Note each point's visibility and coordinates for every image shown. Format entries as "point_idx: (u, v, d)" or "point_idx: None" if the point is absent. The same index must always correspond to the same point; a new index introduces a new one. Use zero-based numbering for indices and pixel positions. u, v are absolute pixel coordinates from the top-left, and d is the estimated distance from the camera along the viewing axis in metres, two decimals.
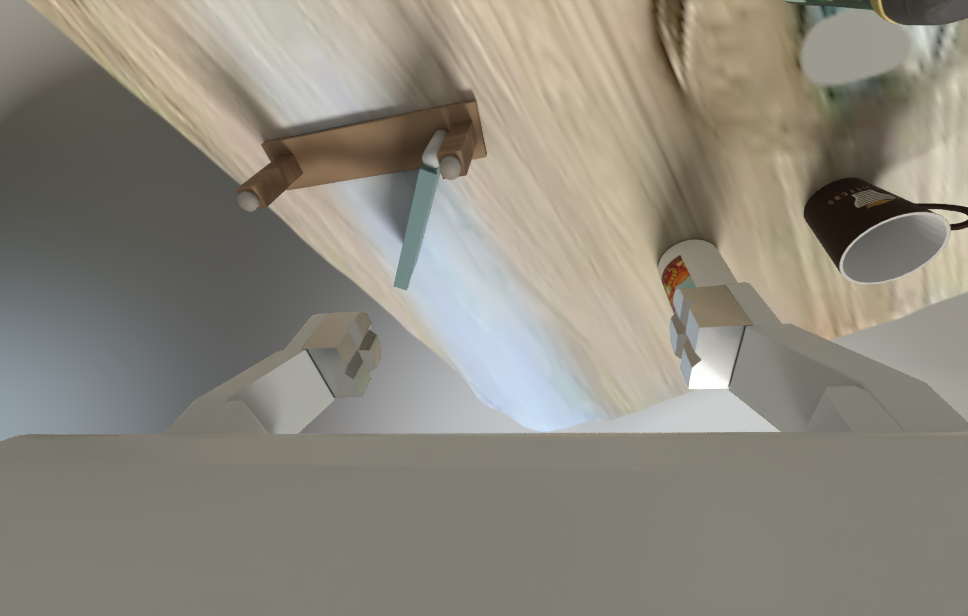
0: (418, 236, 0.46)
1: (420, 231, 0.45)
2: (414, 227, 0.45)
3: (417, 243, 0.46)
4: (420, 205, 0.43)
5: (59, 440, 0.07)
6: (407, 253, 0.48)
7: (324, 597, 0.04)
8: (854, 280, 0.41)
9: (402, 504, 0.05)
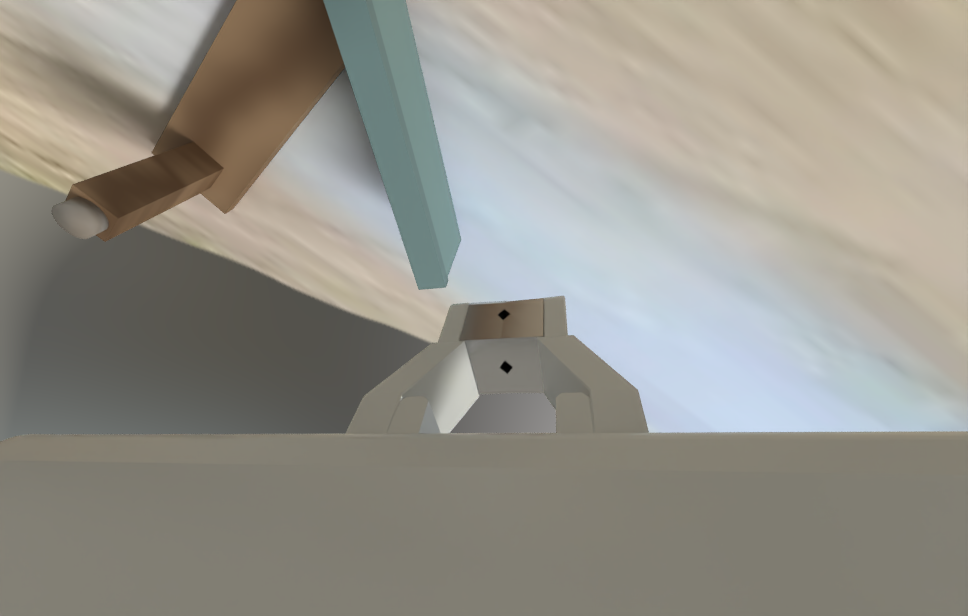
0: (399, 138, 0.19)
1: (396, 121, 0.19)
2: (379, 118, 0.19)
3: (407, 159, 0.20)
4: (358, 44, 0.17)
5: (59, 440, 0.07)
6: (402, 198, 0.21)
7: (323, 597, 0.04)
8: None
9: (402, 504, 0.05)
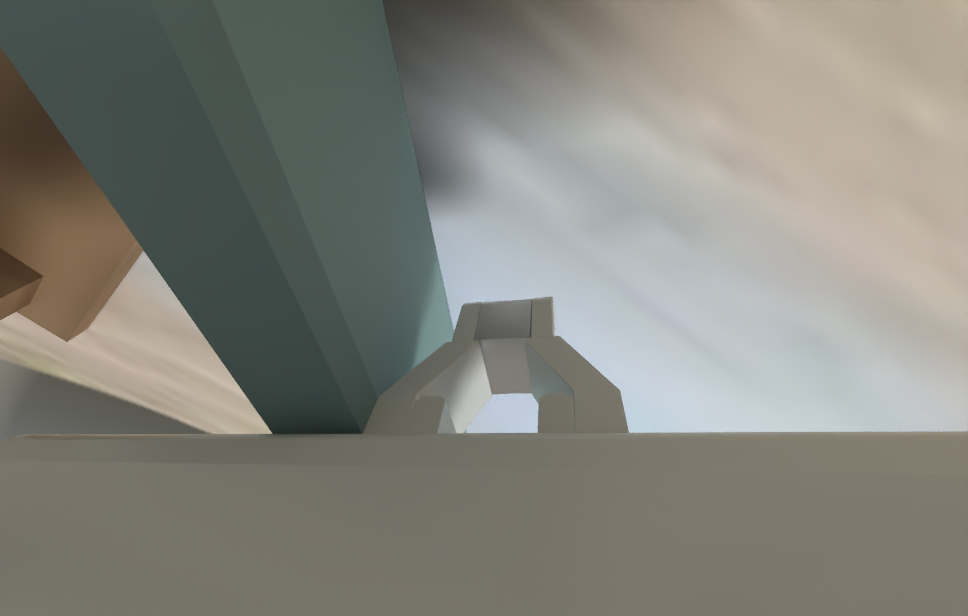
0: (316, 369, 0.06)
1: (302, 330, 0.05)
2: (244, 317, 0.05)
3: (343, 413, 0.06)
4: (101, 65, 0.04)
5: (59, 440, 0.07)
6: None
7: (324, 597, 0.04)
8: None
9: (402, 504, 0.05)
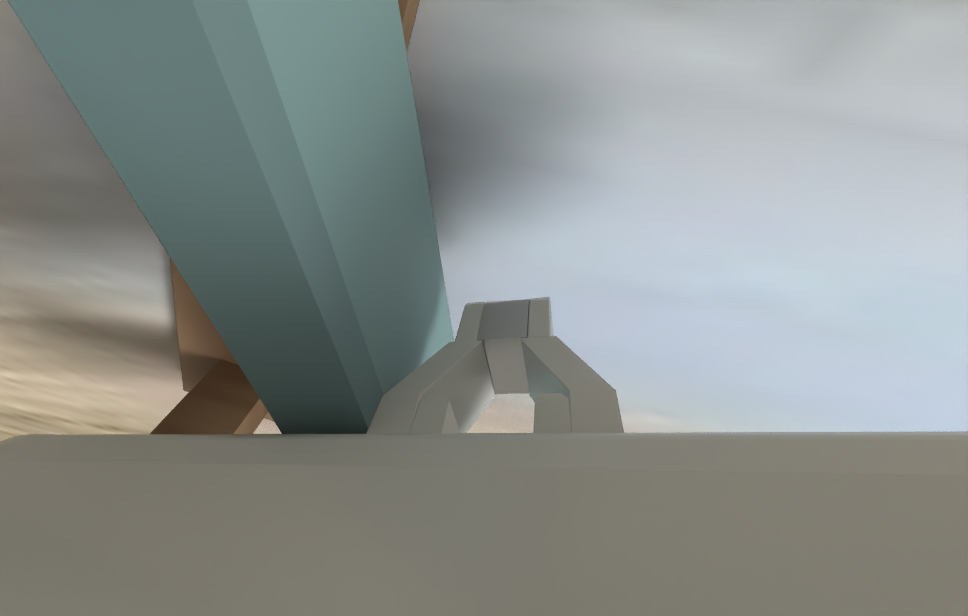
0: (328, 367, 0.06)
1: (317, 329, 0.06)
2: (260, 314, 0.05)
3: (352, 410, 0.07)
4: (135, 61, 0.04)
5: (59, 440, 0.07)
6: None
7: (325, 597, 0.04)
8: None
9: (402, 504, 0.05)
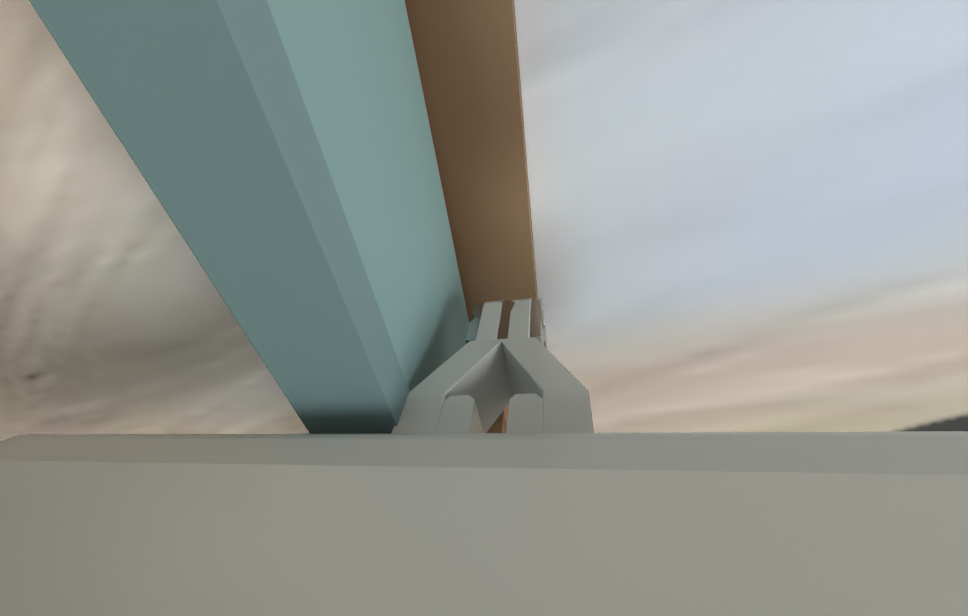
0: (356, 364, 0.06)
1: (344, 325, 0.05)
2: (287, 313, 0.05)
3: (380, 407, 0.06)
4: (158, 60, 0.04)
5: (59, 440, 0.07)
6: None
7: (324, 597, 0.04)
8: None
9: (402, 504, 0.05)
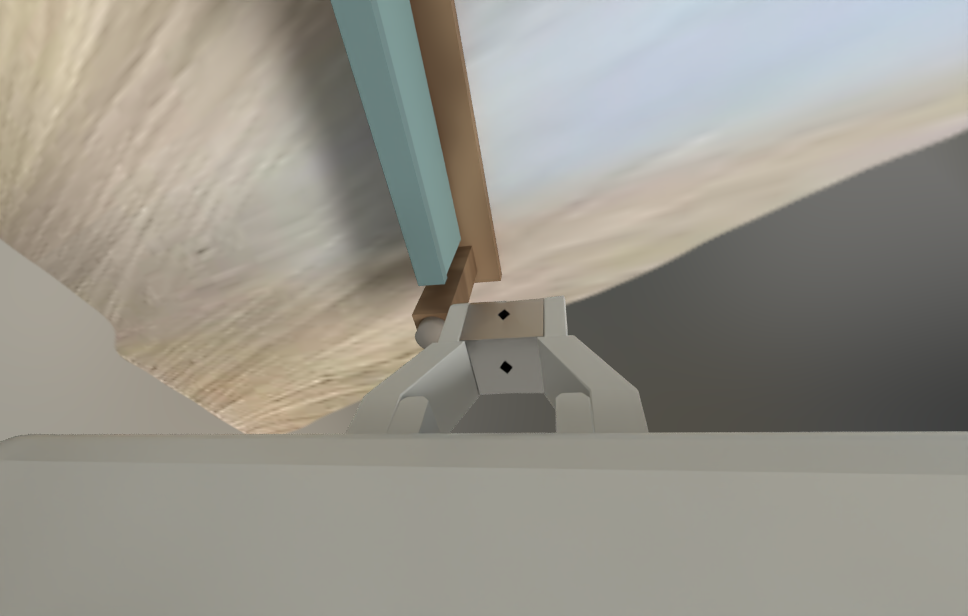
0: (402, 140, 0.20)
1: (400, 124, 0.20)
2: (384, 121, 0.20)
3: (409, 160, 0.21)
4: (366, 51, 0.18)
5: (59, 440, 0.07)
6: (404, 197, 0.22)
7: (323, 597, 0.04)
8: None
9: (402, 504, 0.05)
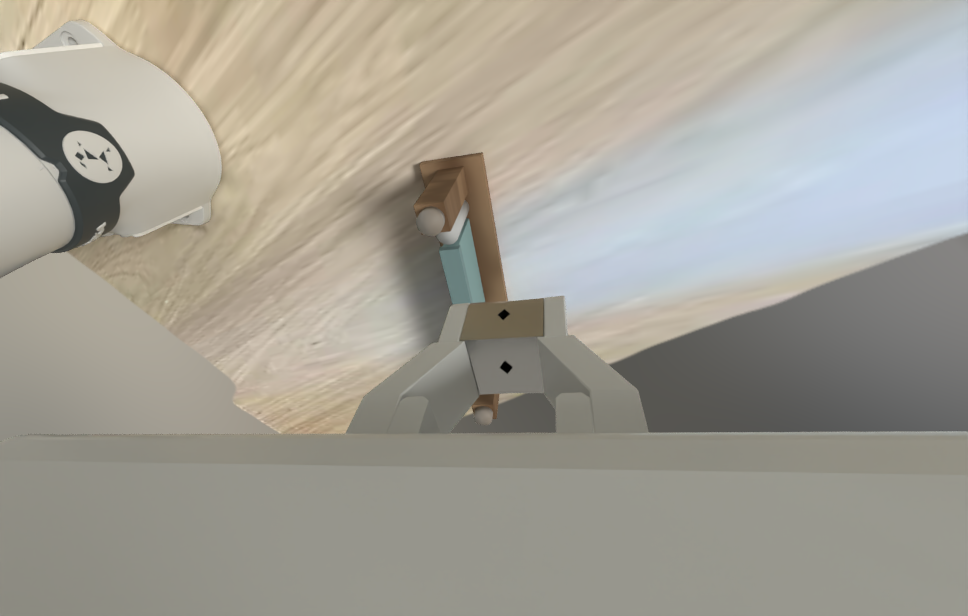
0: None
1: None
2: None
3: None
4: (458, 288, 0.36)
5: (59, 440, 0.07)
6: None
7: (325, 596, 0.04)
8: None
9: (402, 504, 0.05)
